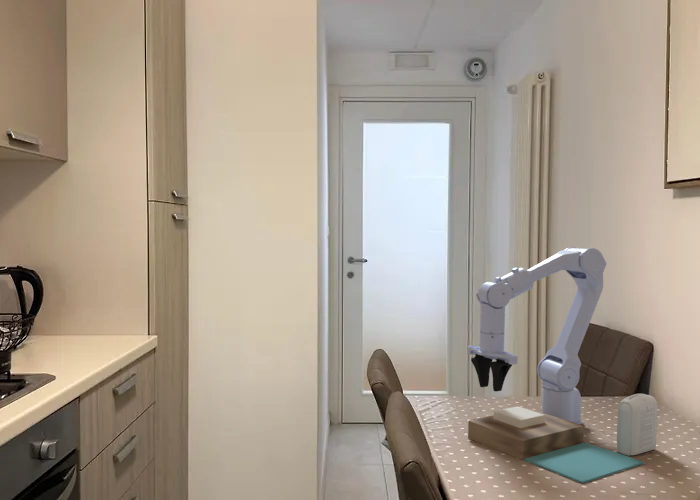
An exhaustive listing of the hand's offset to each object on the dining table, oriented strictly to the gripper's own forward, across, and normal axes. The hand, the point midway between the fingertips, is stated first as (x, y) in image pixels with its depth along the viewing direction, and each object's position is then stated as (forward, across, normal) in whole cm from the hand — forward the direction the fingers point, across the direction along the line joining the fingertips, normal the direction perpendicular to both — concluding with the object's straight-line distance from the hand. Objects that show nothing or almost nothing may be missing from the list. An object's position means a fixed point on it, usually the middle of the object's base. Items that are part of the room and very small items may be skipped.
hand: (490, 388), depth 153 cm
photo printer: (+10, +28, +16) cm, 34 cm away
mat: (+9, +26, 0) cm, 28 cm away
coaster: (+5, +9, 0) cm, 10 cm away
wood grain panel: (+9, +11, 0) cm, 14 cm away
